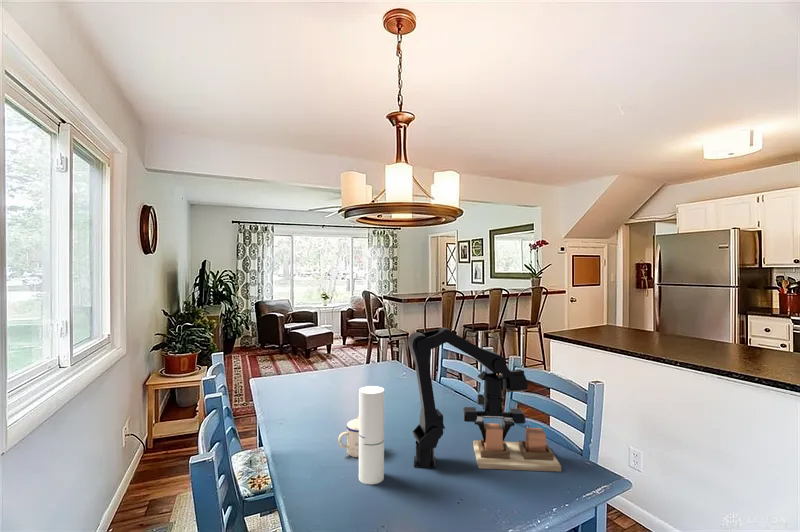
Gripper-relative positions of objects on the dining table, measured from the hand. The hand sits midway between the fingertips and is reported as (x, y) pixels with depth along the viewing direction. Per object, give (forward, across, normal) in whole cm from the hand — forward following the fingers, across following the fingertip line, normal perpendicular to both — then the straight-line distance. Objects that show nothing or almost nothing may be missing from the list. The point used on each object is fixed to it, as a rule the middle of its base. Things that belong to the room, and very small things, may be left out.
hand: (493, 442), depth 131 cm
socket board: (+4, -7, 0) cm, 8 cm away
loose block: (+2, 0, 0) cm, 2 cm away
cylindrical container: (+5, +36, +16) cm, 40 cm away
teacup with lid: (+5, +43, +1) cm, 44 cm away
